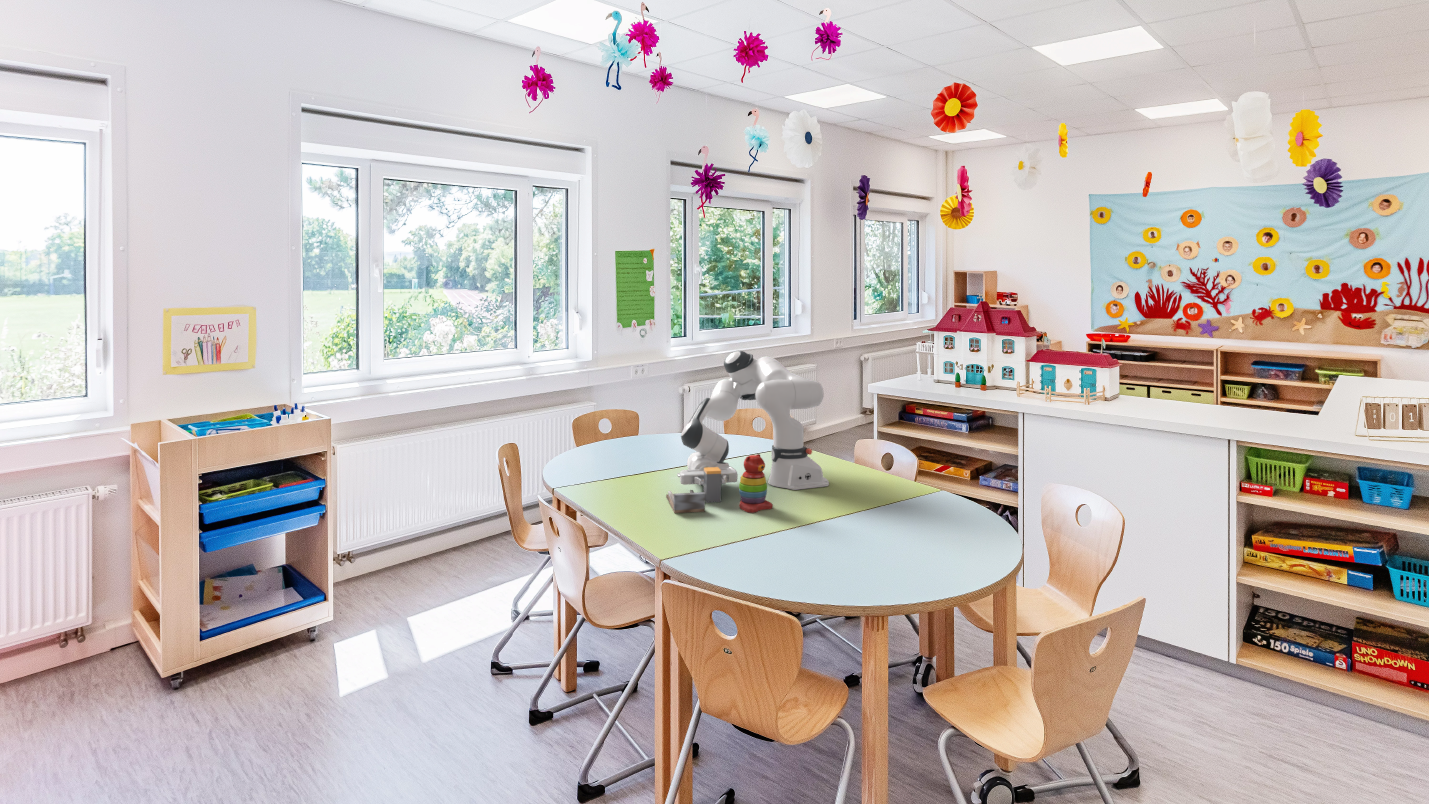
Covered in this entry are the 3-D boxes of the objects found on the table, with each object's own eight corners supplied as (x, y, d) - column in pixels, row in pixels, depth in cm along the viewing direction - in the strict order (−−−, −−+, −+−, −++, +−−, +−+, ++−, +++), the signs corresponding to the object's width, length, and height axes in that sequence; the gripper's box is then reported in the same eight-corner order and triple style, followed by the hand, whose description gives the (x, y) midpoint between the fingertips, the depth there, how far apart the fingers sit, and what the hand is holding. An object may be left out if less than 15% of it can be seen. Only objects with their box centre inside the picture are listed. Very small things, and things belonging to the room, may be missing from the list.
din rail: (694, 495, 268) (694, 479, 267) (704, 511, 250) (704, 493, 249) (666, 497, 266) (666, 480, 265) (674, 513, 248) (674, 495, 247)
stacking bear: (750, 513, 249) (751, 460, 246) (731, 506, 257) (732, 454, 254) (775, 508, 255) (776, 456, 252) (756, 500, 263) (757, 450, 260)
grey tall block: (717, 497, 266) (718, 467, 264) (720, 501, 261) (721, 470, 259) (703, 498, 265) (703, 467, 263) (706, 502, 260) (706, 471, 258)
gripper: (676, 464, 272) (682, 474, 258) (732, 462, 276) (741, 472, 263) (676, 481, 273) (682, 492, 259) (731, 479, 277) (741, 489, 264)
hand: (712, 482), depth 261 cm, fingers open, 6 cm apart
